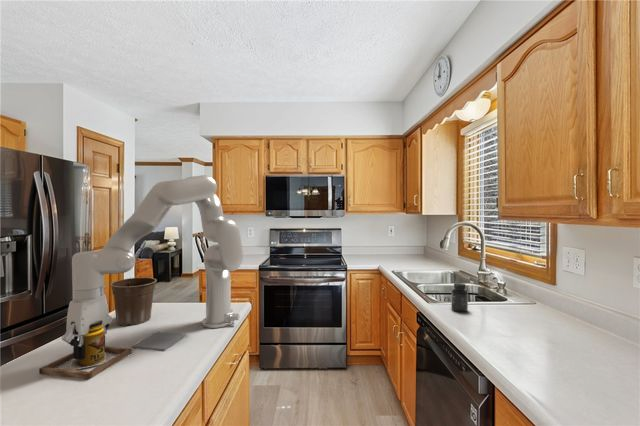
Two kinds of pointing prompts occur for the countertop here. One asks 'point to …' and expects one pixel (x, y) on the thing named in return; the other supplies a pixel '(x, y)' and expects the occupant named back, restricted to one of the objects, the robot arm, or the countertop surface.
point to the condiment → (92, 348)
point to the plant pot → (133, 300)
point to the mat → (159, 341)
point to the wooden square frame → (54, 371)
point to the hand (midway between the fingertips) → (90, 352)
